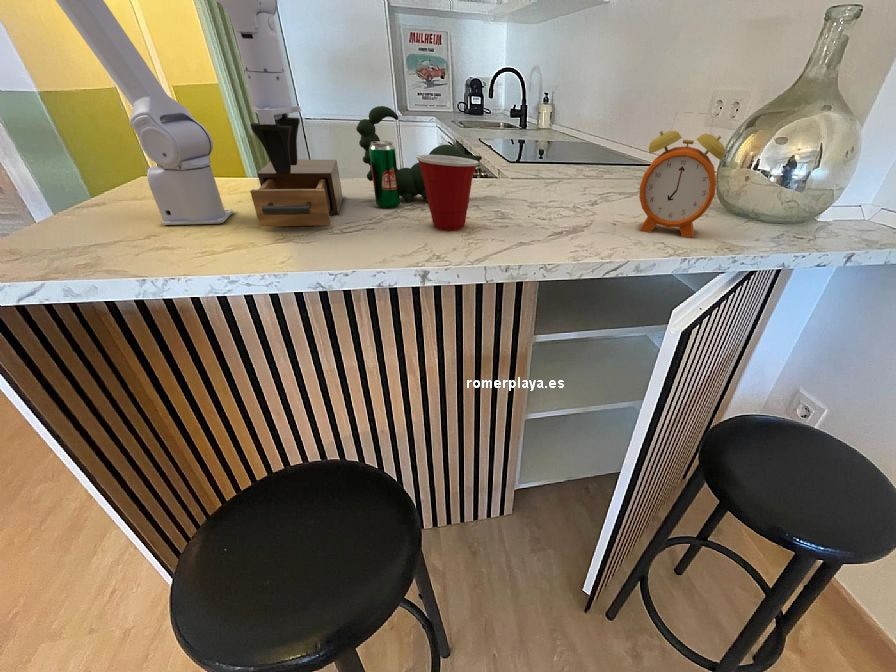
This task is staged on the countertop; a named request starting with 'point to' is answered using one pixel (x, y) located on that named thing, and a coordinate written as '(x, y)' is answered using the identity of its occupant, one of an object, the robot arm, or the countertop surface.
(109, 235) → the countertop surface
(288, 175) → the cabinet
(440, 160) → the plastic cup
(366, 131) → the toy figurine
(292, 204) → the drawer
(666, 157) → the alarm clock
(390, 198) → the soda can
